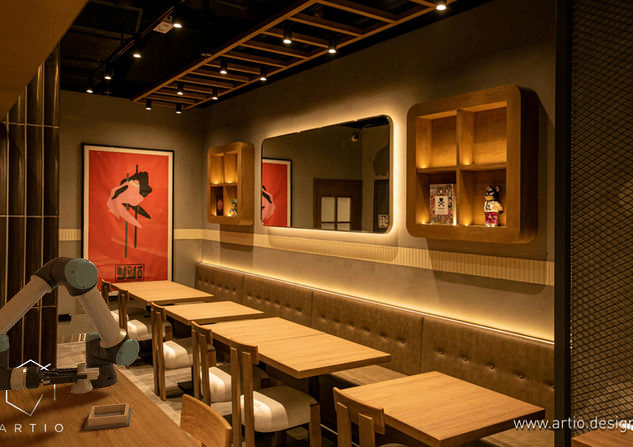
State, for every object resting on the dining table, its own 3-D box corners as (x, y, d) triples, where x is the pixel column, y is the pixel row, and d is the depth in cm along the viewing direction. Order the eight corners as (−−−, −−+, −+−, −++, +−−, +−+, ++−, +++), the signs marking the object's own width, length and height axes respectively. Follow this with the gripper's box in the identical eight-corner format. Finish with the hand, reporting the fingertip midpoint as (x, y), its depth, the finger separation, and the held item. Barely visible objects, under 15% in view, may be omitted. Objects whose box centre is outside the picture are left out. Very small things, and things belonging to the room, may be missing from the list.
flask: (83, 395, 187) (84, 367, 186) (66, 393, 188) (66, 365, 188) (96, 388, 194) (96, 361, 193) (79, 386, 195) (79, 360, 195)
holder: (89, 414, 199) (89, 405, 199) (131, 410, 203) (131, 401, 203) (84, 430, 185) (84, 420, 184) (129, 425, 189) (129, 416, 189)
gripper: (33, 381, 194) (100, 376, 200) (20, 396, 178) (94, 391, 184) (33, 361, 194) (101, 357, 200) (20, 374, 178) (95, 369, 184)
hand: (97, 373), depth 192 cm, fingers closed on flask, 3 cm apart
